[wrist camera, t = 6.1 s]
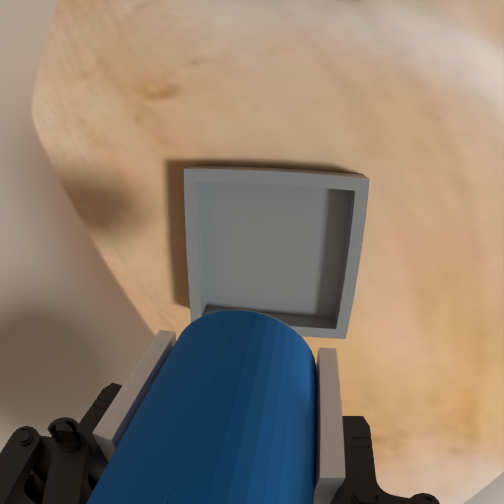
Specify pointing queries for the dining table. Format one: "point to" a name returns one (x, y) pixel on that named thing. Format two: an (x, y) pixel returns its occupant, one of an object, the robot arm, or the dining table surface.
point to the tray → (275, 243)
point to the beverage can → (222, 420)
